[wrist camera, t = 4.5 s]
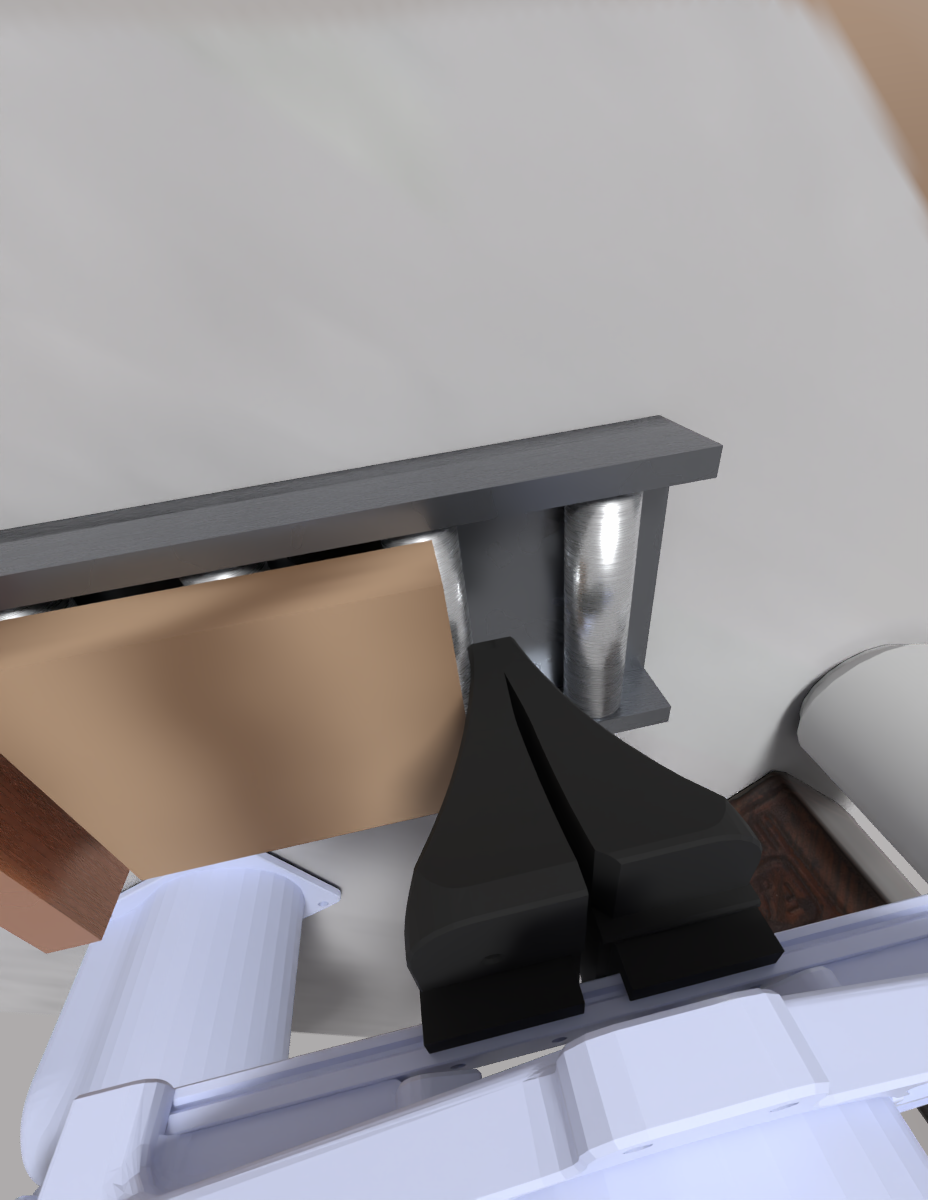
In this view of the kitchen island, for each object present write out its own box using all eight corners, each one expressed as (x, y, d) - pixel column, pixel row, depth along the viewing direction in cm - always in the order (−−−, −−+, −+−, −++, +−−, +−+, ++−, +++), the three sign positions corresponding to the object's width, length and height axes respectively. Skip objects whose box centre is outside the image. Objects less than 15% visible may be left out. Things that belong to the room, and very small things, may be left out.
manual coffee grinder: (771, 761, 26) (1301, 1399, 11) (850, 809, 31) (1286, 1290, 16) (573, 897, 31) (753, 1441, 17) (668, 918, 36) (870, 1350, 22)
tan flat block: (431, 540, 11) (442, 584, 10) (469, 749, 16) (480, 803, 14) (-8, 621, 11) (-76, 684, 9) (165, 816, 15) (141, 880, 14)
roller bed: (659, 414, 14) (821, 491, 9) (630, 665, 19) (718, 796, 15) (-69, 542, 12) (-354, 716, 7) (133, 771, 18) (45, 953, 13)
